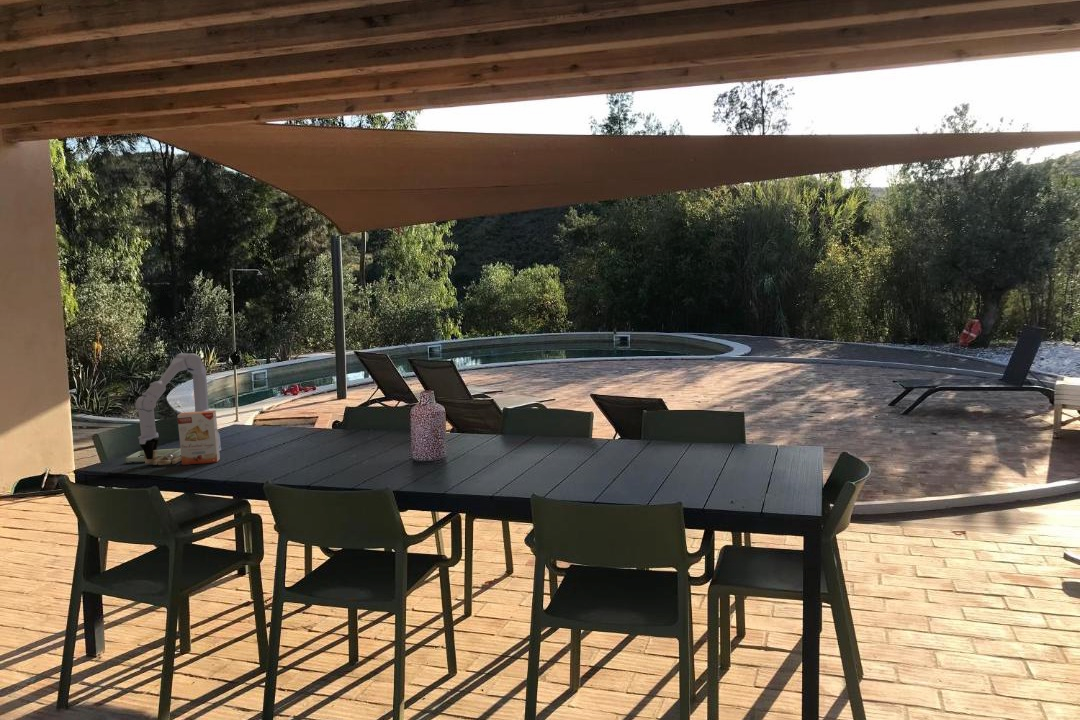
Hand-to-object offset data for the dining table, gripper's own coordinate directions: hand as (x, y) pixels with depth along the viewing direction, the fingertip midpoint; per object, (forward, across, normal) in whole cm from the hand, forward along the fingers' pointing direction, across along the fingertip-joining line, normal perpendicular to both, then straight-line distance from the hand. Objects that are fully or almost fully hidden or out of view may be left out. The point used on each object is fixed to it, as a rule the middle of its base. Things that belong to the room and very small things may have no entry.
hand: (151, 458), depth 360 cm
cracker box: (+3, +2, +21) cm, 21 cm away
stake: (+3, 0, +8) cm, 8 cm away
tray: (+3, -12, -3) cm, 13 cm away
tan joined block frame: (+2, 0, +4) cm, 5 cm away
